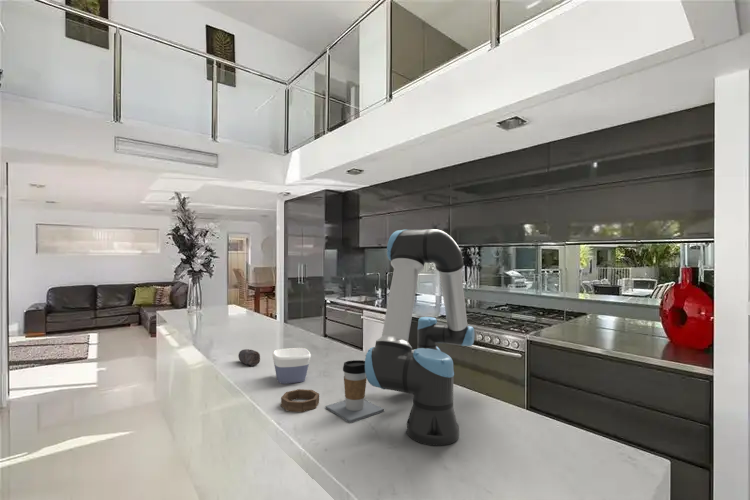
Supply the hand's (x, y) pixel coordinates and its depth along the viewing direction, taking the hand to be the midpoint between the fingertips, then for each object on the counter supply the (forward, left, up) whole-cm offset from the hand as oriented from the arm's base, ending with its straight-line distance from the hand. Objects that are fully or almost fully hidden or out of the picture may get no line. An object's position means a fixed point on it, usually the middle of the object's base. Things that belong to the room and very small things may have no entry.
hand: (367, 371), depth 125 cm
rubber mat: (0, +5, -12) cm, 13 cm away
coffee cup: (0, +5, -11) cm, 12 cm away
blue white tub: (+41, +7, -12) cm, 43 cm away
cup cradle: (+15, +17, -12) cm, 26 cm away
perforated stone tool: (+73, +13, -12) cm, 75 cm away
